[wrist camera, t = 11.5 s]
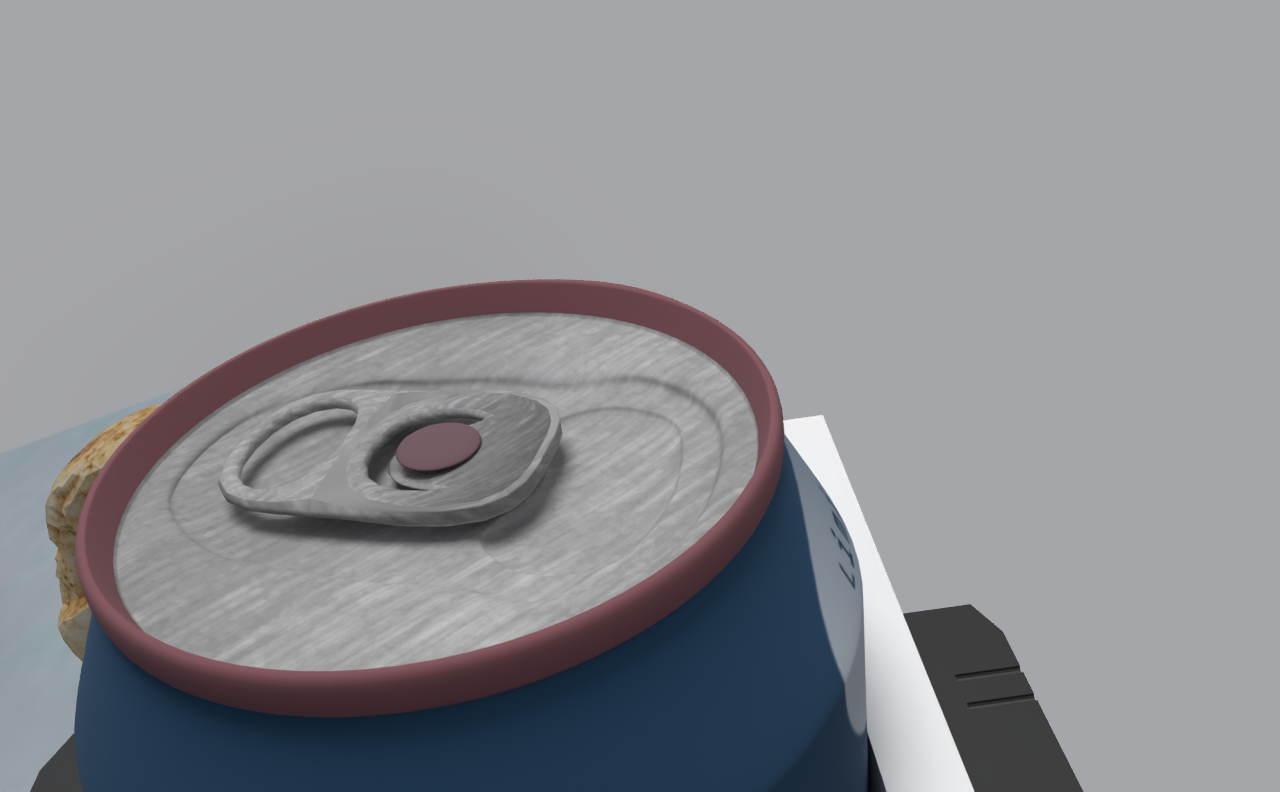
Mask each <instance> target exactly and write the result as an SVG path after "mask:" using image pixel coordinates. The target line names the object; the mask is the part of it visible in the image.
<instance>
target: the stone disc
mask: <svg viewBox="0 0 1280 792" xmlns="http://www.w3.org/2000/svg"><path fill="white" fill-rule="evenodd" d="M161 405H162V404H158V405H151V406H149V407H146V408H144V409H142V410H139V411H137V412H135V413H132V414H130V415H128V416H126V417H124V418H123V419H121V420H119V421H117V422H116V423H114V424H113V425H111V426H110V427H108V428H107V429H105V430H104V431H103V432H102V433H100V434H99V435H98V436H96V437H95V438H94V439H92V440H91V441H90V442H89V443H88V444H87V445H86V446H85V447H84V448H83V449H82V450H81V451H80V452H79V453H78V454H77V455H76V456H75V457H74V458H73V459H72V460H71V461H70V462H69V463H68V465H67V466H66V467H65V469H64V470H63V471H62V473H61V474H60V475H59V477H58V478H57V479H56V481H55V483H54V485H53V487H52V489H51V492H50V494H49V497H48V500H47V503H46V523H47V528H48V533H49V538H50V540H51V541H52V542H53V543H54V544H55V545H56V546H57V547H58V551H57V554H56V557H55V560H56V562H57V569H56V577H57V578H59V579H60V592H61V597H62V602H63V605H62V608H61V612H60V615H59V622H58V628H59V631H60V633H61V635H62V637H63V640H64V641H65V643H66V644H67V645H68V646H69V648H70V649H71V650H72V651H73V653H74V654H75V655H76V656H77V657H78V658H80V659H81V660H82V661H83V658H84V652H85V646H86V641H87V636H88V630H89V625H90V619H91V614H92V611H91V609H90V607H89V605H88V603H87V600H86V598H85V595H84V592H83V590H82V587H81V584H80V580H79V576H78V571H77V566H76V558H75V541H76V532H77V525H78V521H79V517H80V514H81V510H82V507H83V505H84V502H85V499H86V497H87V494H88V492H89V490H90V488H91V486H92V485H93V483H94V481H95V479H96V477H97V476H98V474H99V473H100V471H101V469H102V468H103V466H104V465H105V463H106V462H107V461H108V459H109V458H110V457H111V456H112V454H113V453H114V452H115V450H116V449H117V448H118V447H119V446H120V444H121V443H122V442H123V441H124V440H125V439H126V438H127V437H128V435H129V434H130V433H131V432H132V431H133V430H134V429H135V428H136V427H137V426H138V425H139V424H140V423H141V422H142V421H144V420H145V419H146V418H147V417H148V416H149V415H150V414H151V413H153V412H154V411H155V410H156V409H157V408H158V407H160V406H161Z"/></svg>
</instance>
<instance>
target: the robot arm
mask: <svg viewBox="0 0 1280 792" xmlns="http://www.w3.org/2000/svg"><path fill="white" fill-rule="evenodd" d="M783 423H784V434H785V435H786V437H787V438H788V439H789V441H790V442H791V443H792V445H793V446H794V448H795V449H796V450H797V452H798V453H799V454H800V456H801V457H802V459H803V460H804V461H805V463H806V464H807V465H808V467H809V468H810V470H811V471H812V472H813V474H814V475H815V477H816V478H817V479H818V481H819V482H820V484H821V485H822V487H823V488H824V489H825V491H826V492H827V494H828V495H829V497H830V498H831V500H832V502H833V503H834V505H835V507H836V509H837V510H838V512H839V514H840V515H841V517H842V519H843V521H844V523H845V525H846V527H847V530H848V532H849V534H850V537H851V539H852V541H853V544H854V548H855V551H856V554H857V558H858V561H859V566H860V572H861V578H862V586H863V606H864V641H865V676H866V710H867V745H868V780H869V792H1083V790H1082V788H1081V786H1080V784H1079V782H1078V780H1077V779H1076V777H1075V774H1074V773H1073V770H1072V769H1071V766H1070V764H1069V762H1068V760H1067V758H1066V756H1065V755H1064V752H1063V751H1062V749H1061V747H1060V745H1059V743H1058V741H1057V739H1056V737H1055V735H1054V733H1053V731H1052V729H1051V727H1050V725H1049V723H1048V721H1047V719H1046V717H1045V715H1044V713H1043V711H1042V709H1041V707H1040V705H1039V703H1038V701H1035V699H1034V693H1033V691H1032V689H1031V687H1030V685H1029V683H1028V681H1027V679H1026V677H1025V675H1024V673H1023V672H1022V673H1021V671H1020V665H1019V663H1018V661H1017V659H1016V657H1015V655H1014V653H1013V651H1012V650H1011V647H1010V645H1009V643H1008V641H1007V639H1006V637H1005V635H1004V633H1003V632H1002V631H1001V630H1000V629H999V628H998V627H996V626H995V625H994V624H993V623H992V622H991V621H989V620H988V619H987V618H986V617H985V616H983V615H982V614H981V613H980V612H979V611H977V610H976V609H975V608H974V607H973V606H972V605H970V604H969V605H962V606H955V607H948V608H941V609H933V610H926V611H919V612H912V613H905V614H903V613H902V611H901V608H900V606H899V603H898V601H897V598H896V596H895V593H894V591H893V588H892V586H891V584H890V581H889V579H888V576H887V574H886V571H885V569H884V566H883V564H882V562H881V559H880V556H879V554H878V551H877V549H876V546H875V544H874V541H873V539H872V536H871V534H870V532H869V529H868V526H867V524H866V522H865V519H864V516H863V514H862V511H861V509H860V507H859V504H858V502H857V499H856V497H855V494H854V492H853V490H852V487H851V484H850V482H849V479H848V477H847V474H846V472H845V470H844V467H843V464H842V462H841V459H840V457H839V454H838V452H837V449H836V447H835V445H834V442H833V440H832V437H831V435H830V432H829V430H828V427H827V425H826V422H825V420H824V417H823V415H820V416H813V417H806V418H799V419H791V420H785V421H783ZM30 792H83V788H82V785H81V782H80V778H79V773H78V767H77V761H76V755H75V734H73V735H72V736H71V737H70V738H69V739H68V740H67V742H66V743H65V744H64V745H63V746H62V747H61V748H60V749H59V750H58V751H57V752H56V754H55V755H54V756H53V757H52V758H51V759H50V760H49V761H48V762H47V763H46V765H45V766H44V767H43V768H42V769H41V770H40V772H39V774H38V776H37V778H36V780H35V782H34V784H33V787H32V789H31V791H30Z"/></svg>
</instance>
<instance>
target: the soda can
mask: <svg viewBox="0 0 1280 792" xmlns="http://www.w3.org/2000/svg"><path fill="white" fill-rule="evenodd" d="M75 558H76V566H77V571H78V576H79V580H80V584H81V587H82V590H83V592H84V595H85V598H86V600H87V603H88V605H89V607H90V609H91V611H92V614H91V619H90V625H89V630H88V636H87V641H86V646H85V652H84V658H83V663H82V669H81V675H80V681H79V687H78V695H77V703H76V714H75V728H74V733H75V755H76V761H77V767H78V773H79V778H80V782H81V785H82V788H83V792H869V780H868V745H867V710H866V676H865V641H864V606H863V586H862V578H861V572H860V566H859V561H858V558H857V554H856V551H855V548H854V544H853V541H852V539H851V537H850V534H849V532H848V530H847V527H846V525H845V523H844V521H843V519H842V517H841V515H840V514H839V512H838V510H837V509H836V507H835V505H834V503H833V502H832V500H831V498H830V497H829V495H828V494H827V492H826V491H825V489H824V488H823V487H822V485H821V484H820V482H819V481H818V479H817V478H816V477H815V475H814V474H813V472H812V471H811V470H810V468H809V467H808V465H807V464H806V463H805V461H804V460H803V459H802V457H801V456H800V454H799V453H798V452H797V450H796V449H795V448H794V446H793V445H792V443H791V442H790V441H789V439H788V438H787V437H786V435H785V434H784V423H783V414H782V407H781V403H780V399H779V395H778V392H777V388H776V386H775V384H774V381H773V379H772V377H771V375H770V373H769V371H768V370H767V368H766V366H765V365H764V363H763V362H762V360H761V359H760V358H759V356H758V355H757V354H756V352H755V351H754V350H753V349H752V348H751V347H750V346H749V345H748V344H747V343H746V342H745V341H744V340H743V339H742V338H741V337H740V336H738V335H737V334H736V333H735V332H733V331H732V330H731V329H729V328H728V327H727V326H725V325H724V324H722V323H721V322H719V321H718V320H716V319H714V318H712V317H710V316H709V315H707V314H705V313H703V312H701V311H699V310H697V309H695V308H693V307H691V306H689V305H686V304H683V303H681V302H679V301H677V300H674V299H672V298H669V297H666V296H663V295H660V294H657V293H654V292H650V291H647V290H643V289H639V288H635V287H631V286H626V285H620V284H614V283H606V282H598V281H584V280H560V279H559V280H558V279H557V280H516V281H499V282H487V283H476V284H468V285H459V286H452V287H446V288H440V289H433V290H428V291H423V292H418V293H412V294H408V295H403V296H399V297H394V298H390V299H386V300H382V301H378V302H374V303H370V304H367V305H363V306H360V307H357V308H353V309H349V310H346V311H343V312H340V313H337V314H334V315H331V316H328V317H325V318H322V319H319V320H317V321H314V322H311V323H309V324H306V325H303V326H301V327H298V328H296V329H293V330H291V331H288V332H286V333H283V334H281V335H279V336H277V337H274V338H272V339H270V340H268V341H266V342H263V343H261V344H259V345H257V346H255V347H253V348H251V349H249V350H247V351H245V352H243V353H241V354H239V355H237V356H235V357H234V358H232V359H230V360H228V361H226V362H224V363H223V364H221V365H219V366H218V367H216V368H214V369H212V370H211V371H209V372H208V373H206V374H204V375H203V376H201V377H200V378H198V379H197V380H195V381H193V382H192V383H190V384H189V385H188V386H186V387H185V388H183V389H182V390H181V391H179V392H178V393H176V394H175V395H174V396H172V397H171V398H170V399H168V400H167V401H166V402H165V403H163V404H162V405H161V406H160V407H158V408H157V409H156V410H155V411H154V412H153V413H151V414H150V415H149V416H148V417H147V418H146V419H145V420H144V421H142V422H141V423H140V424H139V425H138V426H137V427H136V428H135V429H134V430H133V431H132V432H131V433H130V434H129V435H128V437H127V438H126V439H125V440H124V441H123V442H122V443H121V444H120V446H119V447H118V448H117V449H116V450H115V452H114V453H113V454H112V456H111V457H110V458H109V459H108V461H107V462H106V463H105V465H104V466H103V468H102V469H101V471H100V473H99V474H98V476H97V477H96V479H95V481H94V483H93V485H92V486H91V488H90V490H89V492H88V494H87V497H86V499H85V502H84V505H83V507H82V510H81V514H80V517H79V521H78V525H77V532H76V541H75Z"/></svg>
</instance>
